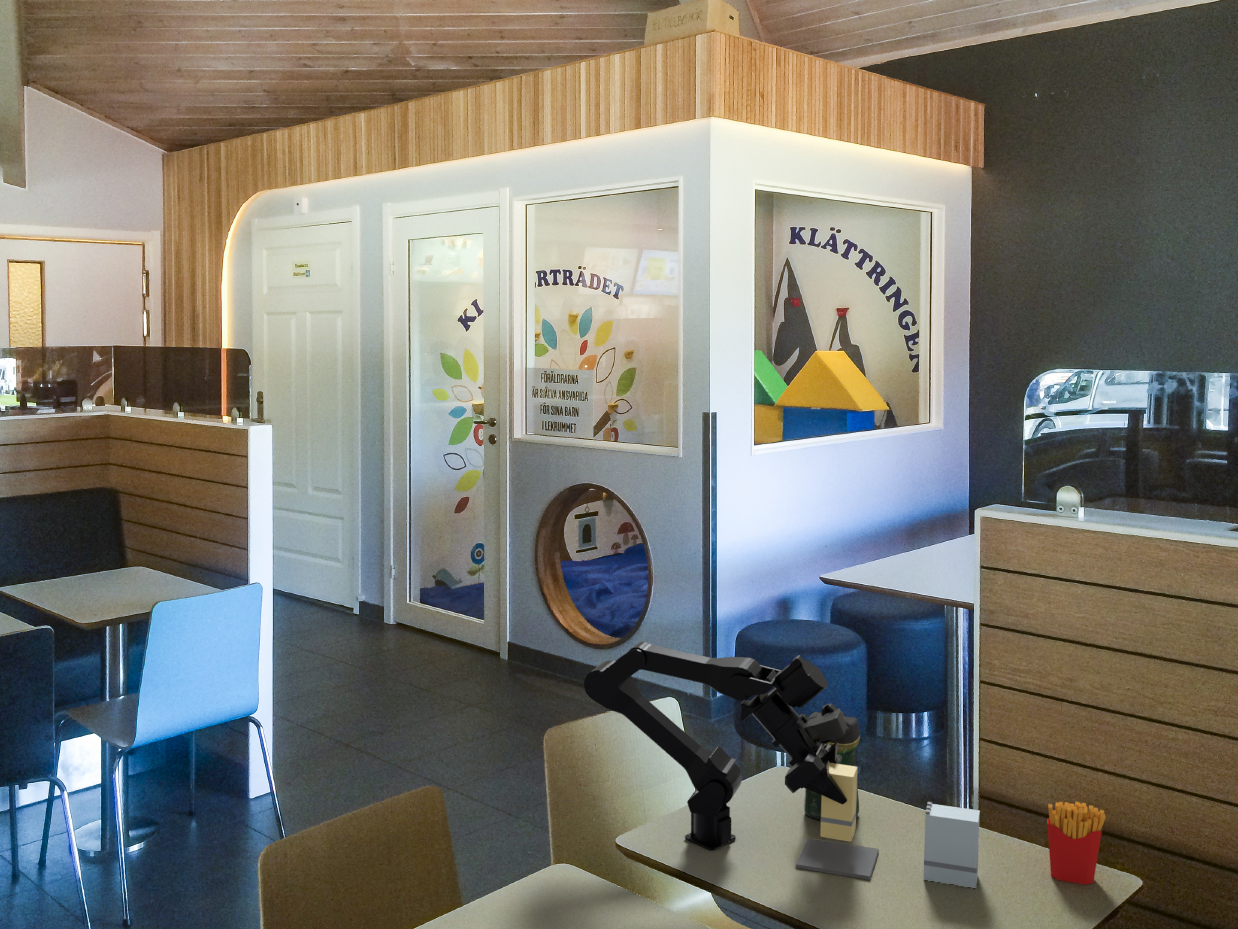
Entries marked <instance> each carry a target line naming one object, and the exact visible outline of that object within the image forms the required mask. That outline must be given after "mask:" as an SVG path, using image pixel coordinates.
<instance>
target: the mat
mask: <svg viewBox="0 0 1238 929" xmlns="http://www.w3.org/2000/svg"><path fill="white" fill-rule="evenodd" d="M879 850H880V848H875V847H869V846H863V845H857V844H856V845H855V844H852V843H851V844H850V843H843V842H837V841H831V840H823V839H816V838H811V837H807V839H806V841H805V843H804V845H803V847H802V850H801V852H800V853H799V856H798V858H797V861H796V863H795V868H796V869H801V870H802V869H803V870H806V871H807V870H809V871H815V872H820V873H827V874H833V875H839V876H844V877H845V876H846V877H851V878H856V879H863V880H870V881H871V878H872V875H873V871H874V868H875V866H876V861H877V858H878V856H879V853H878V852H879Z"/></svg>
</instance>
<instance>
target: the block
mask: <svg viewBox="0 0 1238 929" xmlns="http://www.w3.org/2000/svg"><path fill="white" fill-rule="evenodd" d="M858 769H859V768H858V766H856V767H855V766H848V765H841V764H835V763H829V773H830V775H831V776H832V778H833V779H834V780H835V782H836V783H837V785H838V786H839V788H840V789H841V791H842V792H843V794H844V795H845V797H846V798H847V802H846V803H844V804H840V803H838V802H836V801H834V800H831V799H829V798H827V797H825V796H823V795H822V801H821V819H820V837H822V838H827V839H834V840H838V841H846V842H852V840H853V837H854V835H855V833H856V829H857V828H856V826H857V824H856V822H857V820H856V819H857V817H856V798H857V787H858Z"/></svg>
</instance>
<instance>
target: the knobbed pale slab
mask: <svg viewBox="0 0 1238 929" xmlns="http://www.w3.org/2000/svg"><path fill="white" fill-rule="evenodd" d="M980 811H981V810H978V809H973V808H972V809H971V808H966V807H964V808H963V807H955V806H949V805H943V804H942V805H941V804H936V803H935V804H934V803H933V802H932V801H927V805H926V808H925V815H924V816H925V817H924V847H923V848H924V849H923V850H924V851H923V853H924V854H923V881H924V880H928V881H927V882H930V881H935V882H934V883H937V882H941V883H940V884H943V883H948V884H947V885H949V884H956V885H959V886H958V887H961V886H965V887H964V888H967V887H972V888H971V889H973V888H976V889H977V885H976V884H978V877H977V876H979V875H978V873H979V872H978V871H979V849H980V848H979V840H980V839H979V838H980V814H981V813H980Z"/></svg>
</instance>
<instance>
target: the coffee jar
mask: <svg viewBox="0 0 1238 929" xmlns="http://www.w3.org/2000/svg"><path fill="white" fill-rule="evenodd" d="M821 714H822V712H818V711H814V712H813V713H812V714H810V715H809V716H807V717H808V718H809V719H813V718H816V717H817V716H818V715H821ZM844 720H845V723H846V725H847V727H848V728H847V729H846V730H845V734H844V735H843V736H842V737H839V738H836V739H835V740H834V739H831V740H830V741H829V742H828V743H827V744H829V745H830V746H832V745H833V744H835V743H836V742H838V747H837V759H838V761H839V763H840V764H841V765H848V766H855V767H857V763H856V755H857V754H856V753H857V748H858V747H859V746H858V745H859V743H860V739H861V735H860V729H859V723H858V719H857V717H854V716H852V717H851V716H844ZM827 744H826V745H827ZM858 788H859V787H858V786H857V798H856V818H857V817H858V815H859V812H860V800H859V791H858V790H859V789H858ZM821 801H822V795H820V794H818V793H816V792H813V791H810V790H808V789H805V792H804V802H803V804H804V805H803V806H804V807H803V808H804V809H803V810H804V813H805V814H806V815H807V816H808V817H811V818H812V819H813V818H814V819H817V820H821Z"/></svg>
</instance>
